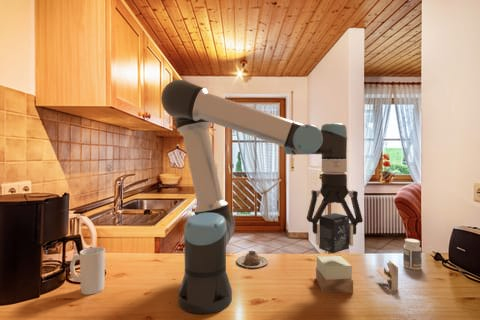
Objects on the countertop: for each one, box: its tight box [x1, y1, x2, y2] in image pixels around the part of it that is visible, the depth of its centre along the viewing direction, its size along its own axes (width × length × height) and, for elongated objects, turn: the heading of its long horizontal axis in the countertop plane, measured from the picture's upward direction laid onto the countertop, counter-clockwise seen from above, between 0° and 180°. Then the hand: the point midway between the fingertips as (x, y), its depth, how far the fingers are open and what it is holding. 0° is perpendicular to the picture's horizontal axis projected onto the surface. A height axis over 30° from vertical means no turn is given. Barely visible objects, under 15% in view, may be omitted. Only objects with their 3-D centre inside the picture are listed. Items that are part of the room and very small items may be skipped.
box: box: [318, 212, 350, 254], centre depth 85 cm, size 8×6×11 cm
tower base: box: [315, 266, 354, 294], centre depth 85 cm, size 9×9×4 cm
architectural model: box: [376, 260, 399, 291], centre depth 85 cm, size 3×7×7 cm, turn 175°
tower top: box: [316, 255, 353, 280], centre depth 85 cm, size 8×8×4 cm
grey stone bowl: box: [236, 250, 269, 269], centre depth 103 cm, size 12×12×5 cm
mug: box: [69, 246, 106, 296], centre depth 82 cm, size 10×7×12 cm, turn 91°
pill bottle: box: [402, 238, 423, 271], centre depth 99 cm, size 6×6×10 cm
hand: (334, 244), depth 85 cm, fingers closed on box, 9 cm apart
